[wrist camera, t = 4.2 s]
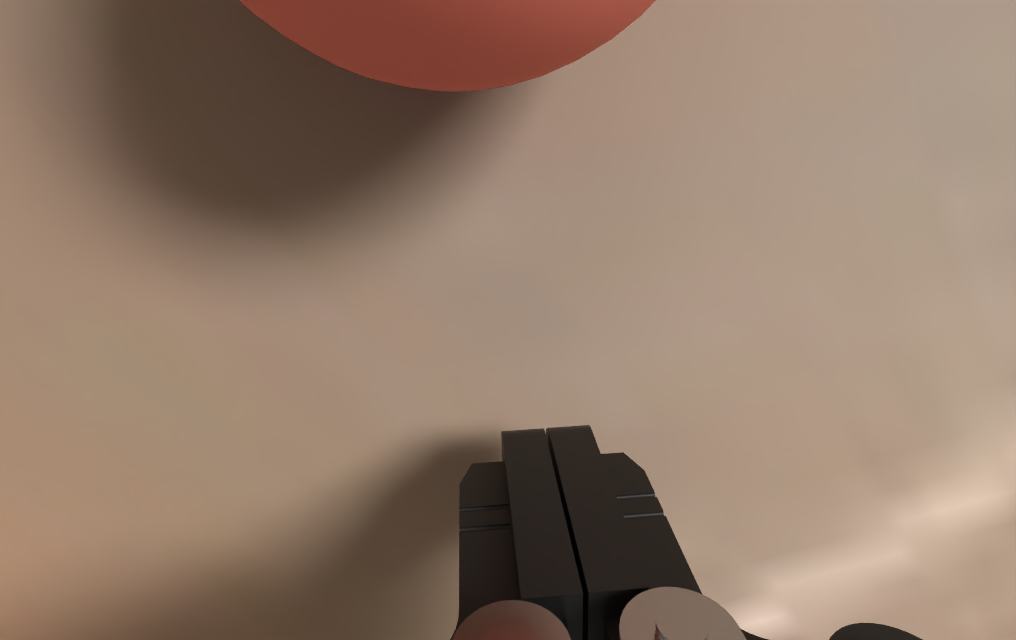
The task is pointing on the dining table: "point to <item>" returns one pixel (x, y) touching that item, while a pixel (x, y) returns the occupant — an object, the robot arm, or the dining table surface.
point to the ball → (449, 36)
